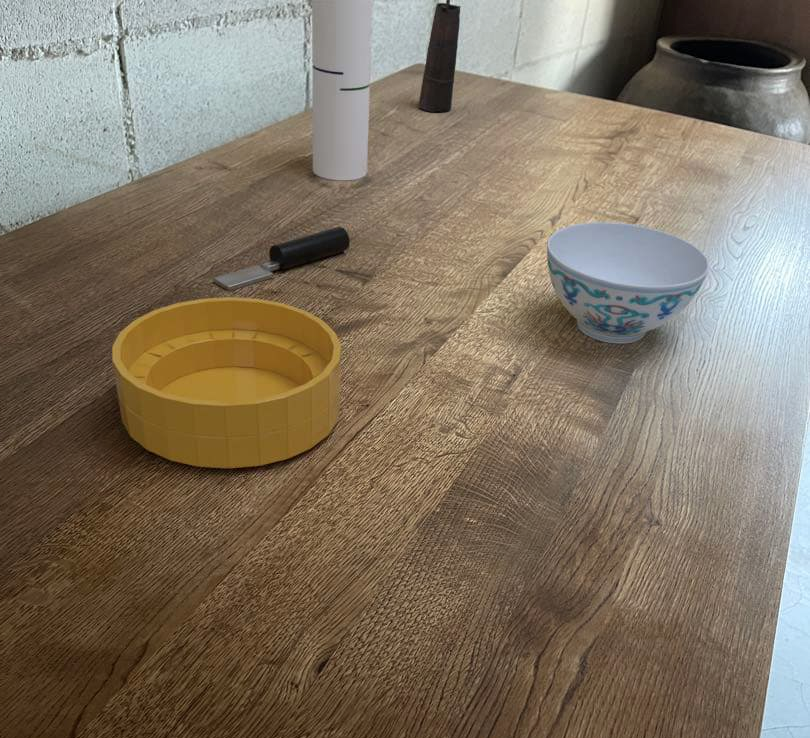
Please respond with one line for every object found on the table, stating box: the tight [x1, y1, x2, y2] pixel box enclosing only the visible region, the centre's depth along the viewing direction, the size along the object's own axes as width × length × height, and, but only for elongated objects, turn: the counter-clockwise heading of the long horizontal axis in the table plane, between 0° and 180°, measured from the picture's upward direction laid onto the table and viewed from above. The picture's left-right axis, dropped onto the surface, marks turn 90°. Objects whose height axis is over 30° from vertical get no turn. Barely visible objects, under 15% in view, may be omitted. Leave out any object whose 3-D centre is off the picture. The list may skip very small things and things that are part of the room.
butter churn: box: [418, 0, 461, 113], centre depth 138 cm, size 9×10×28 cm
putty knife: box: [213, 226, 351, 292], centre depth 96 cm, size 16×3×3 cm, turn 134°
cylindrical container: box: [311, 0, 374, 181], centre depth 113 cm, size 7×7×25 cm
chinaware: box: [546, 221, 710, 345], centre depth 88 cm, size 15×15×8 cm
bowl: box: [111, 296, 342, 469], centre depth 72 cm, size 17×17×6 cm
